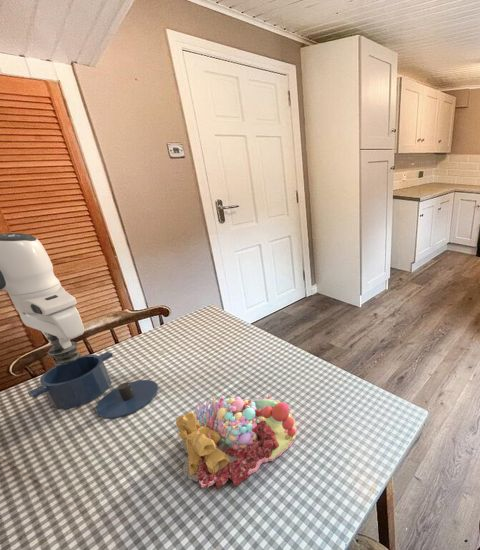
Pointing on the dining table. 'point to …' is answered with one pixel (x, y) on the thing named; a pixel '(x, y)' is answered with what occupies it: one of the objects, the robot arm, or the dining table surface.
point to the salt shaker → (62, 351)
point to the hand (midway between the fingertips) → (61, 345)
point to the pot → (75, 382)
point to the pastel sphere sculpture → (234, 438)
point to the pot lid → (127, 399)
